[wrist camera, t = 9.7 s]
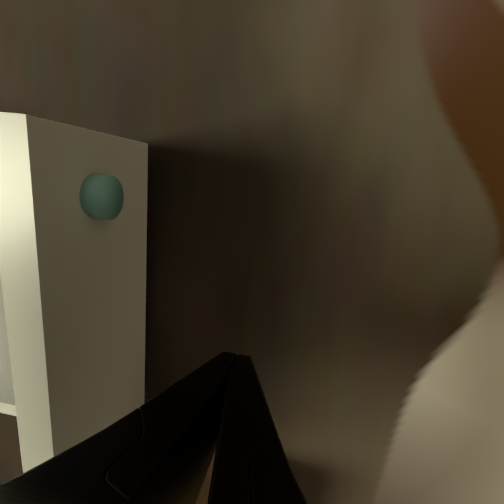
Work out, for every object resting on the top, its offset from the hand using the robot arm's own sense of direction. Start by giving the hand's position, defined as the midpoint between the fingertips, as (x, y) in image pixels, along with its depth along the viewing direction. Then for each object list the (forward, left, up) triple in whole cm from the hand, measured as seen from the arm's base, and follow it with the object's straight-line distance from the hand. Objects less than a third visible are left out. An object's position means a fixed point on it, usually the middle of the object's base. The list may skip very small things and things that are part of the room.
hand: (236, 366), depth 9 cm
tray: (0, +10, -3) cm, 11 cm away
